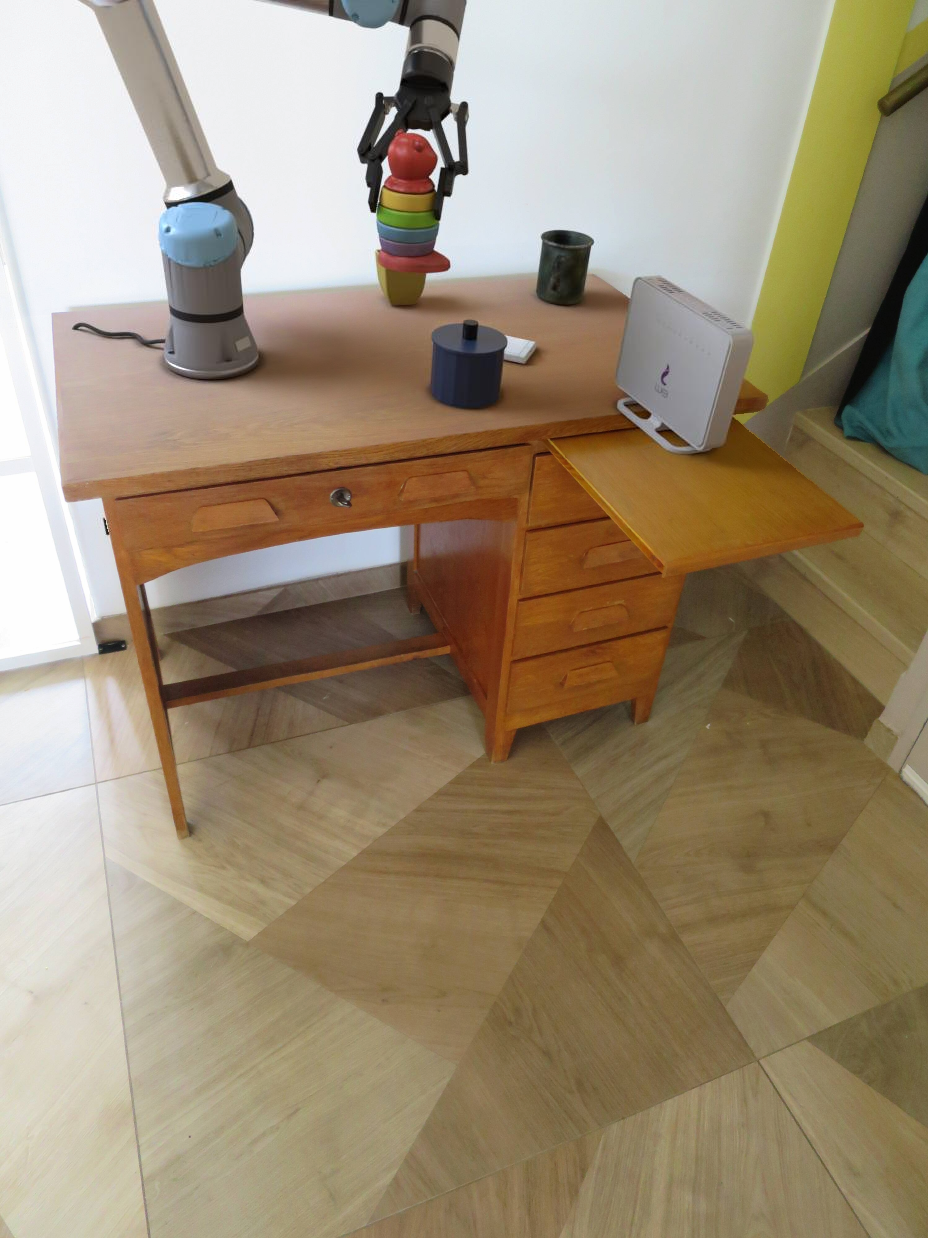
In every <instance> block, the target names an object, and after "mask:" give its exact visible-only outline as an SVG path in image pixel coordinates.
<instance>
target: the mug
mask: <svg viewBox="0 0 928 1238" xmlns="http://www.w3.org/2000/svg"><path fill="white" fill-rule="evenodd" d="M540 239H541V249H540V257H539V264H538V265H539V266H538V272H537V279H536V287H535V294H536V296H537V297H538V298H539V299H540V300H542V301H544V302H546V303H550V304H555V305H562V306H565V305H574V304H578V303H581V301H582V299H584V293H585V288H586V281H587V275H588V269H589V264H590V258H591V250H592V246H594V244H595V239H594V238H593V237H591V236H590V235H589V234H585V233H583V232H579V231H575V230H570V229H569V230H568V229H552V230H547V231H544V232H542V233H541V235H540Z"/></svg>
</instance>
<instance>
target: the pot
mask: <svg viewBox="0 0 928 1238" xmlns="http://www.w3.org/2000/svg"><path fill="white" fill-rule="evenodd" d="M504 352H505V349H504V350H503V351H501V352H499V353H496V354H493V355H487V356H466V355H459V354H454V353H451V352H448V351H445V350H443V349H441V348H439V347H437V346H436V345H435V344H434V343H433V342H432V352H431V370H430V384H429V386H430V387H429V389H430V394H431V395H432V397H433V398H434V399H435V400H436V401H438V402H439V403H441V404H443V405H445V406H449V407H453V408H457V409H465V410H468V409H469V410H476V409H483V408H487V407H490V406H492V405H494V404H496V403H498V401H499V399H500V394H501V387H502V380H503V379H502V378H503V369H504V361H505V360H504Z"/></svg>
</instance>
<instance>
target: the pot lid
mask: <svg viewBox="0 0 928 1238" xmlns="http://www.w3.org/2000/svg"><path fill="white" fill-rule="evenodd" d="M462 321H463V322H462V323H461V322H459V323H458V322H457V323H449V324H444V325H441V326H438V327H437V328H435V329H433V331H432V332H431V335H430V337H431V338H430V340H431V342H432V344H433V343H434V344H435V345H436V346H437V347H439V348H441V349H443V350H445V351H448V352H451V353H454V354H459V355H466V356H487V355H493V354H496V353H499V352H501V351H503V350H504V349H505V348H506V347H507V343H508V340H507V338H506V336H507V335H506V334H504V333H503V332H502V331H500V330H498V329H495V328H493V327H490V326H486V325H482V324H479V321H478V320H476V319H470V318H469V319H464V320H462ZM505 335H506V336H505Z"/></svg>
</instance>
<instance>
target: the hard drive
mask: <svg viewBox="0 0 928 1238" xmlns="http://www.w3.org/2000/svg"><path fill="white" fill-rule="evenodd" d="M504 335H505V336H506V338H507V340H508V343H507V347H506V348H505V352H504V361H508V362H514V363H517V364H523V365H524V364H526V362H527V361H528V360H529V359H530V357H531V356H532V354H533V353H534V352H535V351H536V349H537V341H533V340H530V339H529V340H528V339H524V338H520V337H514V336H511V335H506V334H504Z"/></svg>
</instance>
